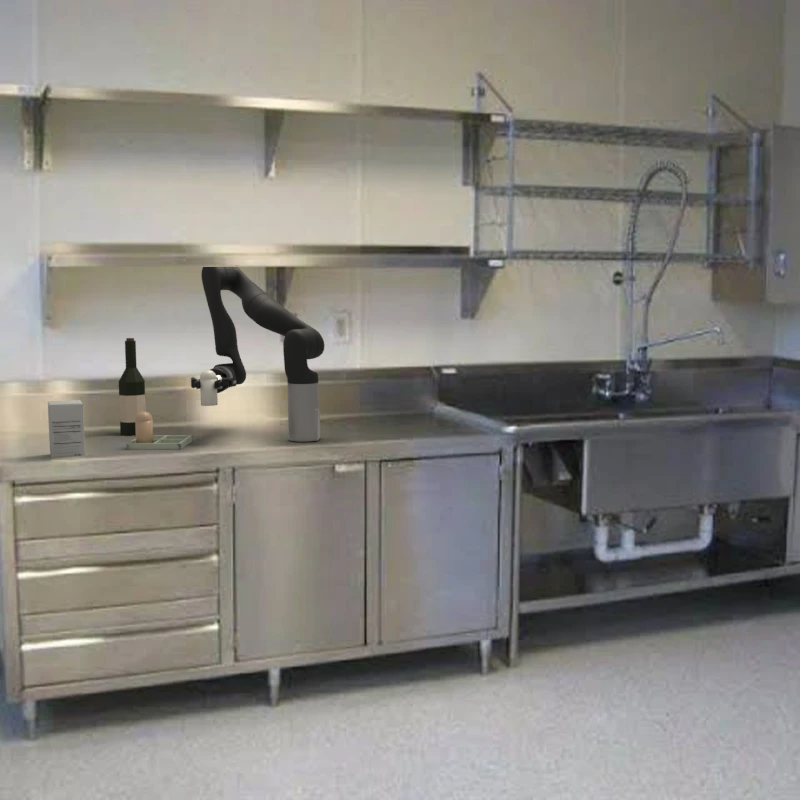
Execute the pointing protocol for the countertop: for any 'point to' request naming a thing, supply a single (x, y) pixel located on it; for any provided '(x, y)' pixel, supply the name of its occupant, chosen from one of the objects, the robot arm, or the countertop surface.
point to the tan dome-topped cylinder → (144, 427)
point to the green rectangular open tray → (162, 442)
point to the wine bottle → (130, 391)
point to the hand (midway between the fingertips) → (206, 385)
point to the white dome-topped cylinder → (208, 388)
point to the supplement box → (66, 428)
